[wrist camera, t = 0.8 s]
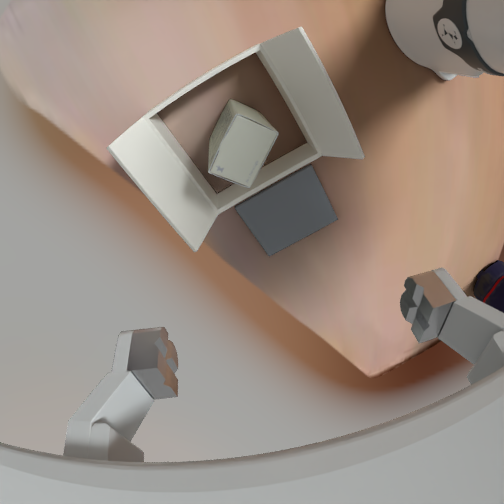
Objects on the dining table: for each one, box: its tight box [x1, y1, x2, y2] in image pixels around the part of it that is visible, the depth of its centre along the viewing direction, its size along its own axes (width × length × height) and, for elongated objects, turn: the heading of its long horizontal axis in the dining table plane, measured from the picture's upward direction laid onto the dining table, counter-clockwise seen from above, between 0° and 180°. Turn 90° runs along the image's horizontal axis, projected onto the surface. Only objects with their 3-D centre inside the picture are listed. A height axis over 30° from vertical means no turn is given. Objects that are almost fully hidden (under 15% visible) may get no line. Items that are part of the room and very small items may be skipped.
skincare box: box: [208, 99, 279, 188], centre depth 31 cm, size 6×4×12 cm
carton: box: [107, 27, 365, 252], centre depth 32 cm, size 22×15×10 cm
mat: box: [235, 164, 338, 256], centre depth 44 cm, size 12×10×1 cm
